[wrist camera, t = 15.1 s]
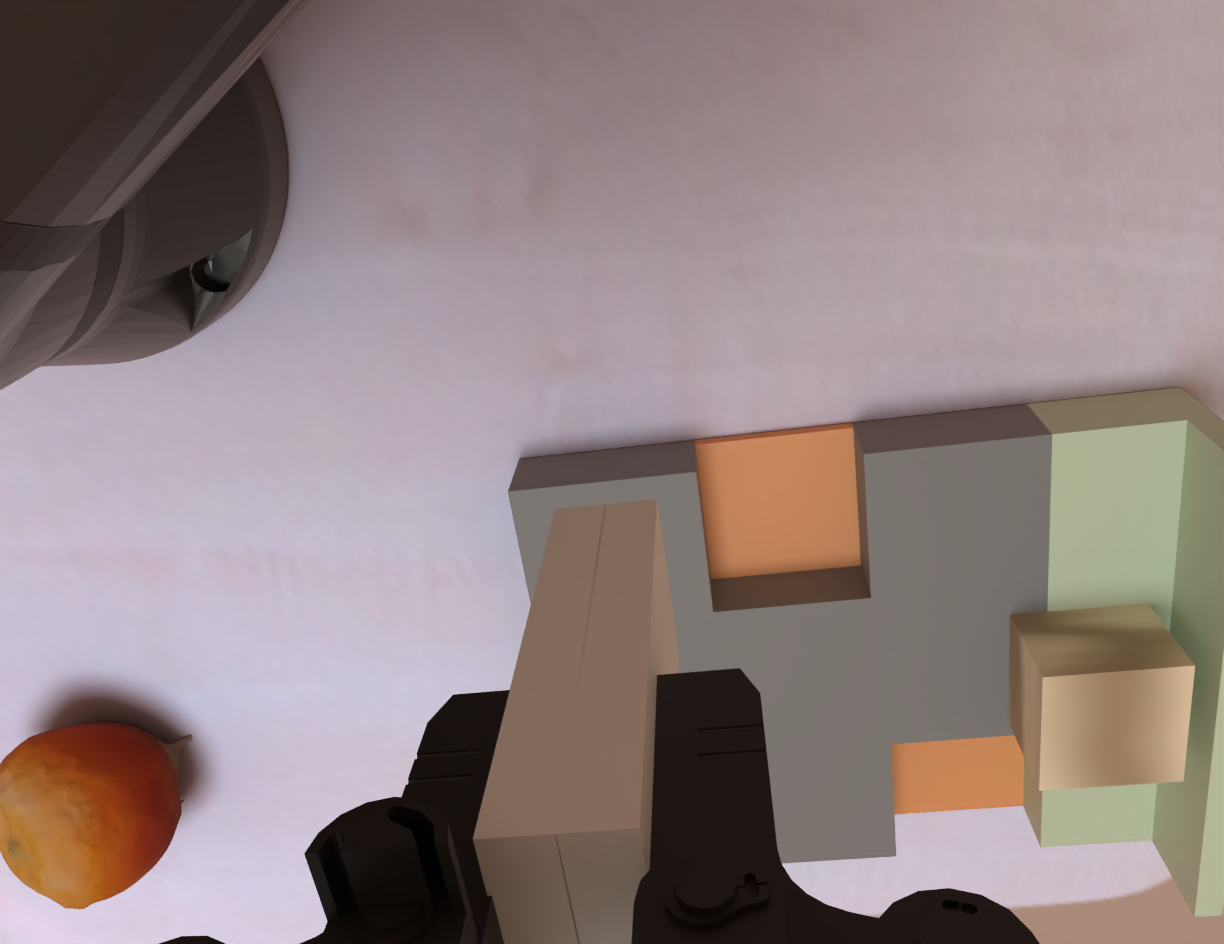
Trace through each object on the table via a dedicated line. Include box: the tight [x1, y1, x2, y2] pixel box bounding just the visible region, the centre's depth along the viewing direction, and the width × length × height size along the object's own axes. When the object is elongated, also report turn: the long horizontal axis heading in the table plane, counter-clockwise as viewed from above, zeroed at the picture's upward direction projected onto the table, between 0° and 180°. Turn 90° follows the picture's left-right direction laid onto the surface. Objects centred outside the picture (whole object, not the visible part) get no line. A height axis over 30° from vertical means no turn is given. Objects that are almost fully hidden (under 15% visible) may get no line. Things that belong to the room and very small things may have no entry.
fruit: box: [0, 722, 193, 909], centre depth 47 cm, size 8×8×8 cm
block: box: [1008, 603, 1195, 791], centre depth 39 cm, size 5×5×4 cm
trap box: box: [508, 387, 1224, 917], centre depth 41 cm, size 25×19×7 cm
